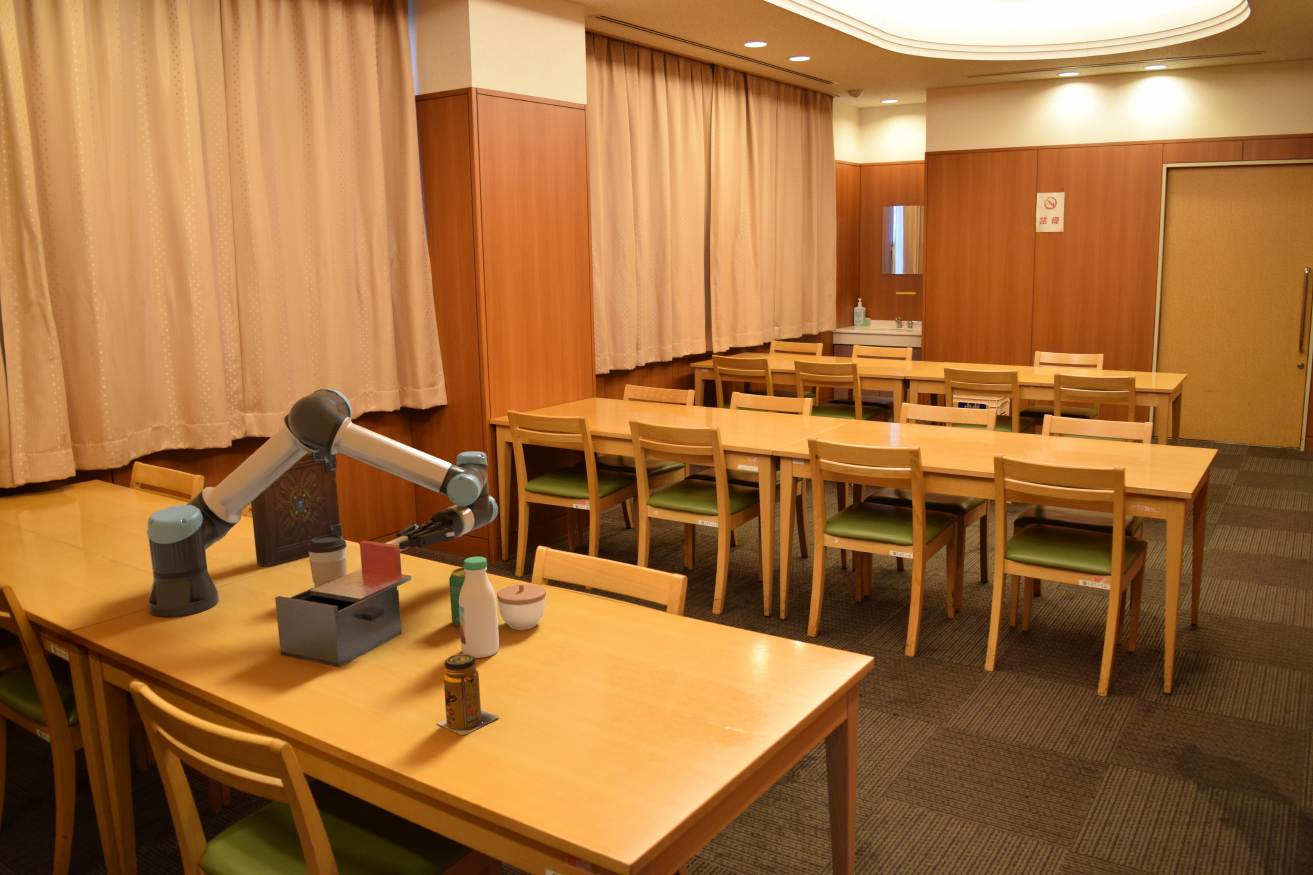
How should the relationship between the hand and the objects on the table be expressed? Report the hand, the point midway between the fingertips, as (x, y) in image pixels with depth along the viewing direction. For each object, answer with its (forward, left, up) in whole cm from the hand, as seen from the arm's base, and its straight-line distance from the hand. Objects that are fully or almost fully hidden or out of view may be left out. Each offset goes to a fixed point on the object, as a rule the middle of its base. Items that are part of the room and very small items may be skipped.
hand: (386, 549), depth 217 cm
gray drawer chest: (-8, -12, -17) cm, 22 cm away
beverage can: (+18, -3, -17) cm, 25 cm away
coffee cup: (-18, +19, -17) cm, 31 cm away
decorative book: (-36, +55, -17) cm, 67 cm away
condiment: (+23, -51, -17) cm, 59 cm away
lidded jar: (+30, -6, -17) cm, 35 cm away
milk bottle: (+22, -20, -17) cm, 34 cm away
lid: (-5, -6, -6) cm, 10 cm away
